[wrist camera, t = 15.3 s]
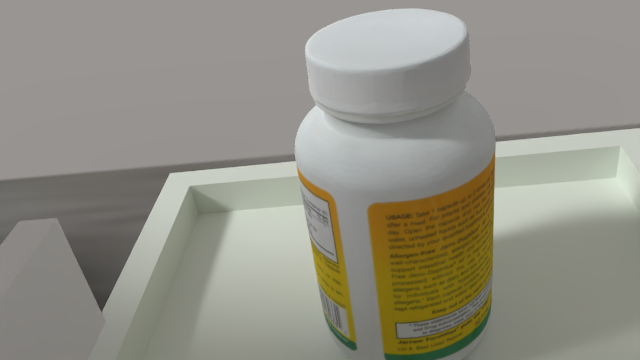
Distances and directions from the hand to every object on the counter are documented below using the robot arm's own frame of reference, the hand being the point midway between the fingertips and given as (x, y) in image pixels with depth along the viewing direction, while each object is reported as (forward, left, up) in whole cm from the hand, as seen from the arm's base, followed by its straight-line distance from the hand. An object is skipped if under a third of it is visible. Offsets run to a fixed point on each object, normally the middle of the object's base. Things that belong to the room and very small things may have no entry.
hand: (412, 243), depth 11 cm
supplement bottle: (0, +6, -8) cm, 10 cm away
